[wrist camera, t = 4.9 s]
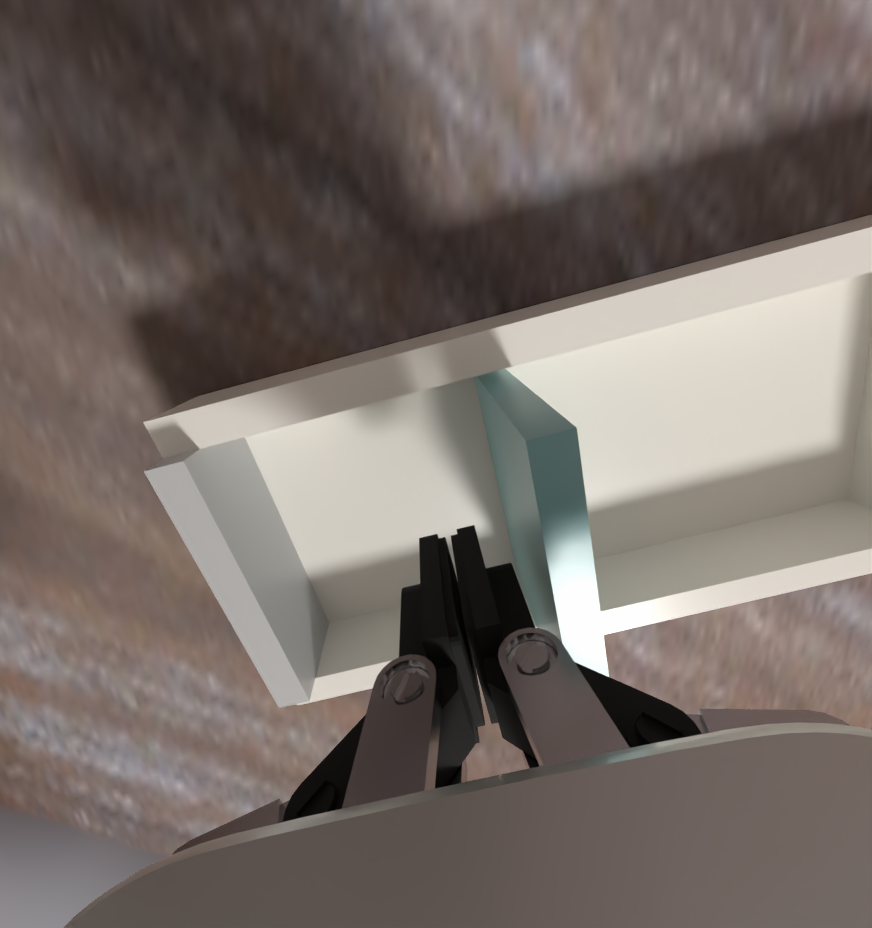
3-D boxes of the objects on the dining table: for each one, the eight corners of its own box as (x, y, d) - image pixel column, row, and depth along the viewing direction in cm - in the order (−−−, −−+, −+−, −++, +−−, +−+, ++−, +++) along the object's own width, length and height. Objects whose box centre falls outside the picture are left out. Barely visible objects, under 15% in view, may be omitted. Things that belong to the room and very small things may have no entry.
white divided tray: (197, 396, 16) (121, 432, 12) (912, 203, 14) (1109, 168, 10) (315, 641, 20) (290, 728, 16) (862, 511, 19) (984, 570, 15)
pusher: (473, 372, 15) (525, 441, 8) (500, 364, 15) (576, 427, 8) (517, 575, 19) (581, 747, 12) (539, 570, 19) (617, 739, 12)
